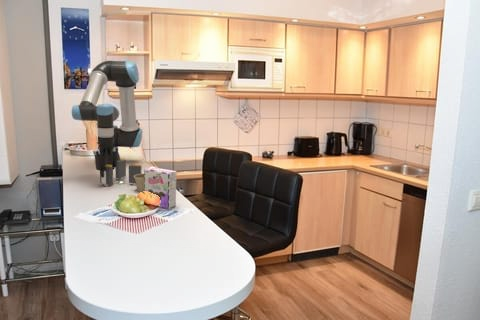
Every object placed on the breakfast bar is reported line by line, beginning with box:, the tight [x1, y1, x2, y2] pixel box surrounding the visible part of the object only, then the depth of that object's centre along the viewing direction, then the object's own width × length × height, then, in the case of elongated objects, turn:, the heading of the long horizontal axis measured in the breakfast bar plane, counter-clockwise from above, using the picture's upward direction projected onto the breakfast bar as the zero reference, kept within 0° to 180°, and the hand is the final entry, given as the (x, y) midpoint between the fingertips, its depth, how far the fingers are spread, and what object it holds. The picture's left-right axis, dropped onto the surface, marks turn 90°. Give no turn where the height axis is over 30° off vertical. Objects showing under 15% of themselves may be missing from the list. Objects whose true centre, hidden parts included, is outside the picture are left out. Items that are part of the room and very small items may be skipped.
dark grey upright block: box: [99, 164, 114, 187], centre depth 204 cm, size 2×6×11 cm, turn 71°
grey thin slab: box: [128, 163, 143, 186], centre depth 208 cm, size 2×6×11 cm, turn 86°
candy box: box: [143, 166, 177, 210], centre depth 183 cm, size 14×6×16 cm, turn 62°
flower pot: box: [134, 173, 144, 193], centre depth 200 cm, size 9×9×9 cm
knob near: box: [114, 157, 127, 180], centre depth 217 cm, size 2×6×11 cm, turn 157°
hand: (106, 182), depth 205 cm, fingers closed on dark grey upright block, 3 cm apart
